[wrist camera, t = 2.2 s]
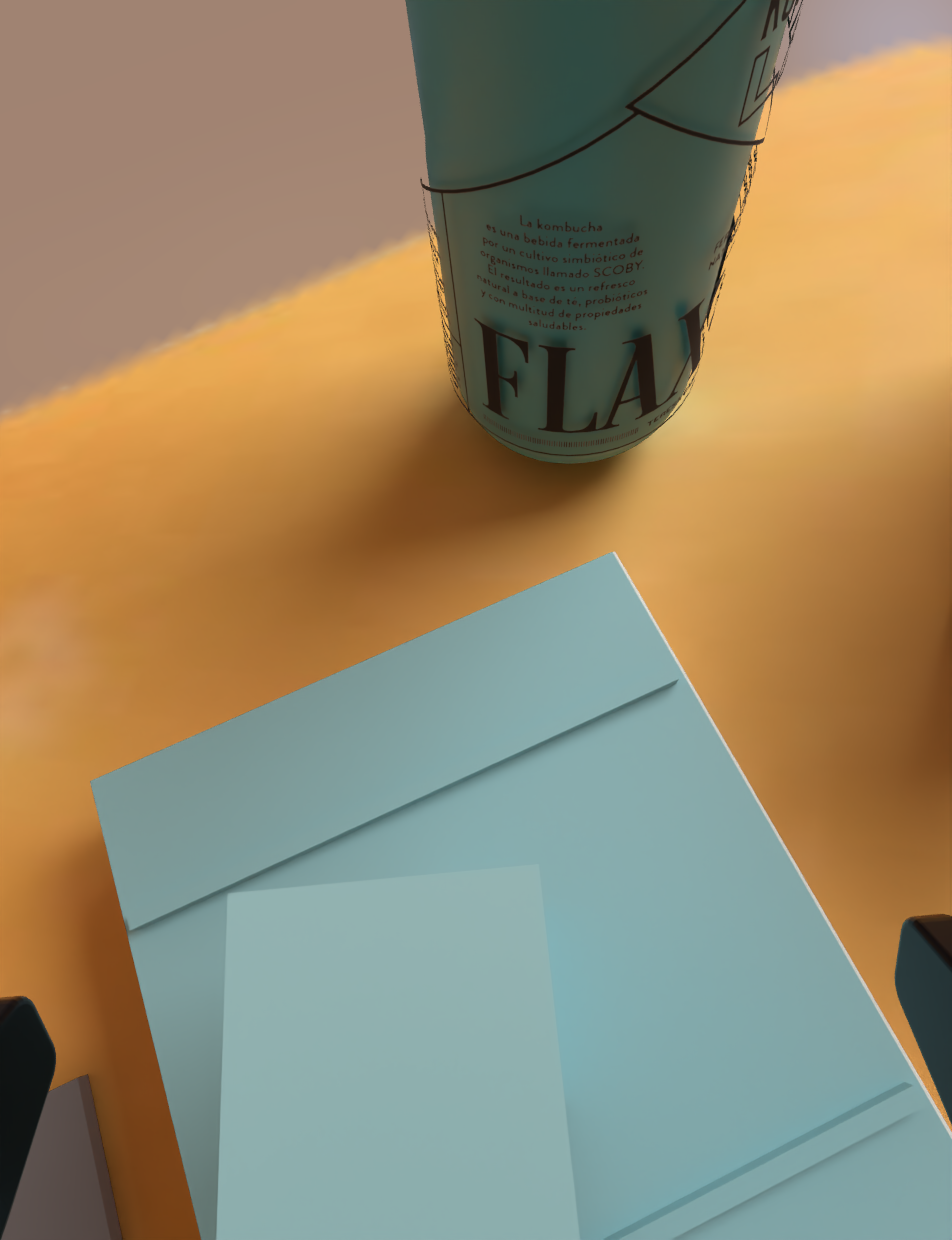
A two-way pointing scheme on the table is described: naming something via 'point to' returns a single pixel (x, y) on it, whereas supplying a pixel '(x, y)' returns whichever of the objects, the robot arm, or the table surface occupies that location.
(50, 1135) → the mat
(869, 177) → the table surface
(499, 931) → the lid
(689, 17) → the beverage bottle
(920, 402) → the table surface
